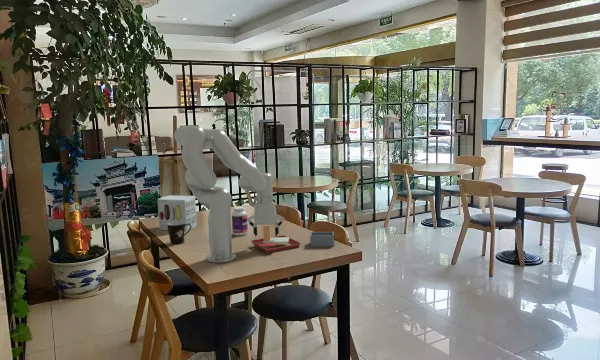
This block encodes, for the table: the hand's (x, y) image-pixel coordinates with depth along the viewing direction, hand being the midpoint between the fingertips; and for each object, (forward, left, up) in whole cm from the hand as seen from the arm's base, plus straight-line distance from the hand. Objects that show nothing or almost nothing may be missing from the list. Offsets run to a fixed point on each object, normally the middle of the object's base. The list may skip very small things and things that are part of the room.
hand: (266, 235), depth 212 cm
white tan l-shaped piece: (0, -5, -3) cm, 5 cm away
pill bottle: (+26, +18, -6) cm, 32 cm away
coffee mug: (+11, +45, -6) cm, 47 cm away
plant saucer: (0, -4, -7) cm, 8 cm away
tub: (+1, -26, -6) cm, 27 cm away
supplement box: (+42, +57, -6) cm, 71 cm away
